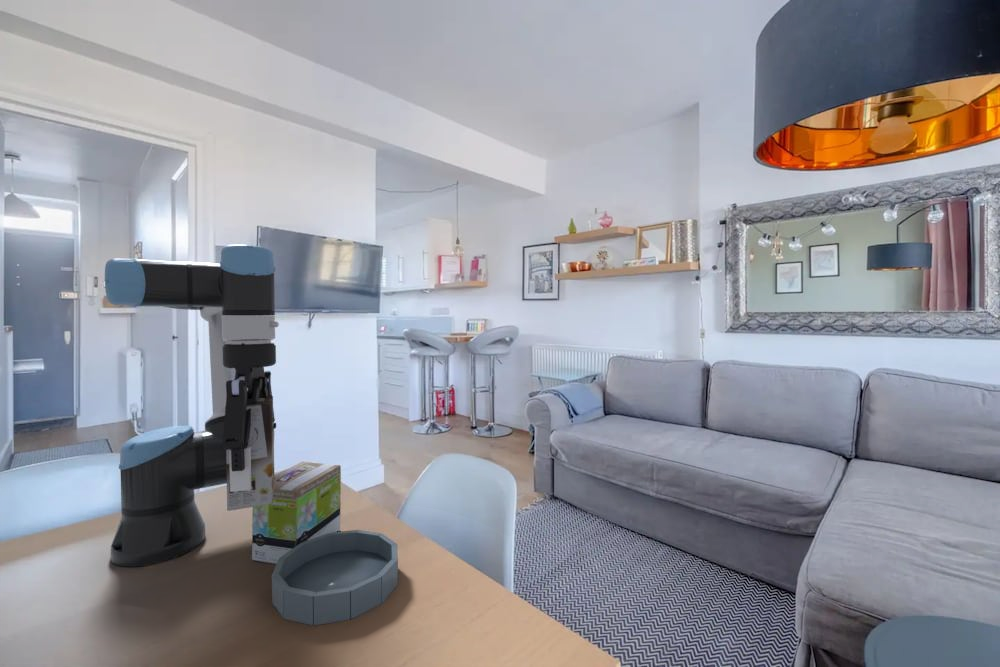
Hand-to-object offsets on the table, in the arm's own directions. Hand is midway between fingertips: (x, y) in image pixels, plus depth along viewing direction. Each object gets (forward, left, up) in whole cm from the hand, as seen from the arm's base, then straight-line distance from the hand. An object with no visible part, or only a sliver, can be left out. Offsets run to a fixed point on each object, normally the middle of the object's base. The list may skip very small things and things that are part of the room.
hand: (252, 478), depth 72 cm
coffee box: (0, 0, -3) cm, 3 cm away
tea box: (-17, +4, -20) cm, 27 cm away
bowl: (-1, +13, -20) cm, 24 cm away
